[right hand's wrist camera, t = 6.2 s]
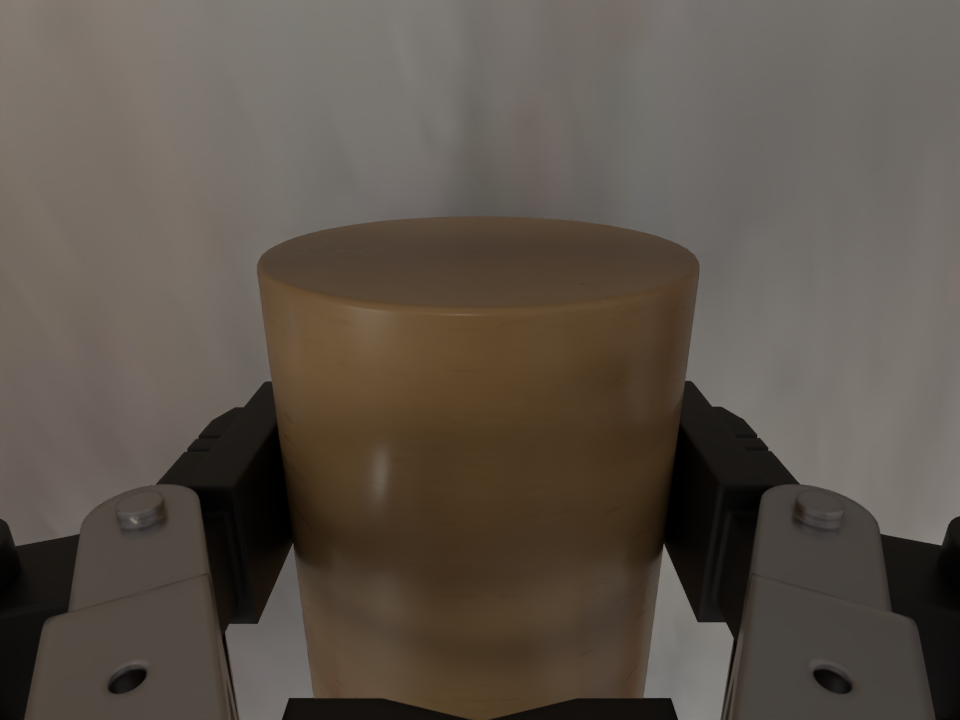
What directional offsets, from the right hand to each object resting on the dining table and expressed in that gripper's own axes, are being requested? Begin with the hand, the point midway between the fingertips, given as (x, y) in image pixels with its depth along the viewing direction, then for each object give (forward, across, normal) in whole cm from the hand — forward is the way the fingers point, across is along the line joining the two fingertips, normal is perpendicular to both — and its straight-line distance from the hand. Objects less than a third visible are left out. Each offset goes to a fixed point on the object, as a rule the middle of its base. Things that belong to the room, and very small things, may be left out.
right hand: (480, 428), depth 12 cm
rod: (+2, 0, -9) cm, 9 cm away
